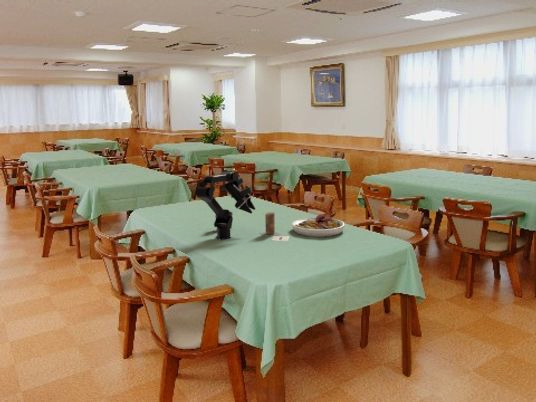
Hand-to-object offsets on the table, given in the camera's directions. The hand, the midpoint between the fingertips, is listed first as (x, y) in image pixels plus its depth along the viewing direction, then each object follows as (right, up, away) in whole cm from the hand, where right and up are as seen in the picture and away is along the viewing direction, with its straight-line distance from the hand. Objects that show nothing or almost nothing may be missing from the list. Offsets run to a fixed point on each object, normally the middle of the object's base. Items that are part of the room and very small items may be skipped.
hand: (253, 211), depth 277 cm
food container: (-19, -11, +16) cm, 27 cm away
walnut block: (+9, -13, +1) cm, 16 cm away
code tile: (+15, -15, -8) cm, 23 cm away
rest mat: (+9, -13, +1) cm, 16 cm away
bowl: (+37, -12, +8) cm, 40 cm away
